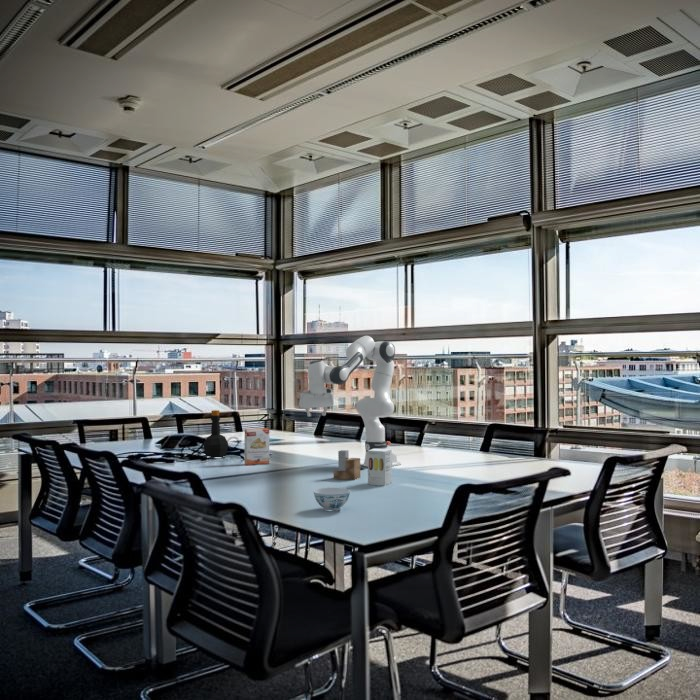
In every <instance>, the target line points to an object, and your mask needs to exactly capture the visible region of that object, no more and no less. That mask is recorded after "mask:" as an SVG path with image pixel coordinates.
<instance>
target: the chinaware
mask: <svg viewBox="0 0 700 700" xmlns="http://www.w3.org/2000/svg"><path fill="white" fill-rule="evenodd" d="M313 495H314V498H315V501H316V502H317V503H318V505H319V506H321V508H323V511H325V510H339V509H340V510H341V508H342V507H344V505H345V504H347V502H348V500H349V497H350V495H351V490H350V489H349V488H344V487H335V486H334V487H321V488H316V489H314V490H313ZM340 510H339V511H340Z"/></svg>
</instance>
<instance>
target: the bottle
mask: <svg viewBox="0 0 700 700" xmlns="http://www.w3.org/2000/svg"><path fill="white" fill-rule="evenodd" d="M210 421H211V425H210V426H211V428H210V430H211V432H210V433H211V434H210V435H209V436H207V437H206V438H205V440H204V441H203V450H204V453H205V456H206V455H208V456H211V457H223V456H225V457H226V456H227V452H228V449H229V443H228V440H227V439H226V437H225V436H224V435H222V434H221V425H220V421H221V415H220V410H219V409H218V410H217V409H216V410H211V415H210Z"/></svg>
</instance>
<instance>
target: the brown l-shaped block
mask: <svg viewBox="0 0 700 700" xmlns="http://www.w3.org/2000/svg"><path fill="white" fill-rule="evenodd" d="M334 478H337V479H336V480H348V479H352V481H355V479H356V480H358V479H360V478H361V458H360V457H350V458H349V459H346V460H345V472H339V469H338V470H335V471H333V479H334ZM357 478H358V479H357Z"/></svg>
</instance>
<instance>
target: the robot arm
mask: <svg viewBox="0 0 700 700" xmlns="http://www.w3.org/2000/svg"><path fill="white" fill-rule="evenodd" d="M395 355H396V347H395V345H394V344H393V343H392V342H390V341H386V340H385V341H375V340H374V339H373V338H372V337H371V336H369V335H364V336H361V337H359V338H358V339H355V341H353V342H352V343H351V344H350V345H349V346H348V347H347V348H346V350H345V357H346V358H347V361H346V362H344V364H342V365H334V366H333V365H331V366H330V365H328V364H327V363H325V362H324V361H323V360H322V359H315V360H312V361H309V363H308V367H307V378H308V383H307V390H302V391H301V392H300V393H299V402H298V403H299V405H298V406H299V407H300V409H304V410H305V412H306V414H307V415H306V416H307V417H312V413H311V412H310V409H314V408H323V411H322V412H321V416H323V417H325V416H326V415H327V411H328V408H329V407H330V408H332V407H333V406H334V396H333V389H331V388H329V387H326V386H325V384H328V385H339V386H341V385H344V384H346V383H347V381H348V379H349V378H350V376H351V374H352V373H353V372H354V371H356V369H357V368H358V367H359V366H360V365H361V363H362V362H363V360H364V359H365V360H366V361H371V362H373V361H374V362H376V366H375V369H374V373H373V376H372V378H371V379H372V380H371V385H370V387H371V389H372V390H373V392H374V396H373V397H364V398H360V399H358V401H357V402H356V406H355V407H356V412H357V413H358V414H359V415H360V417H361V418H362V421H363V424H364V429H365V442H364V447H365V449H364V450H365V454H364V455H365V456H364V461H363V465H362V466H364V467H366V468H368V450H371V449H375V448H376V449H390V448H389V446H391V444H392V443H391V441H388V440H387V441H386V431H385V430H386V428H385V426H384V425H383V424H382V423H381V421H380V418H388V417H390V416H393V414H394V411H395V405H394V404H395V403H394V402H393V401H392V400H391V395H390V394H391V393H390V389H391V385H392V381H393V378H394V371H395V362H394V359H395ZM388 445H389V446H388ZM399 465H402V462H400V461H398V458H397V454H396V452H395V451H393V450H392V467H395V466H399Z"/></svg>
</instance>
